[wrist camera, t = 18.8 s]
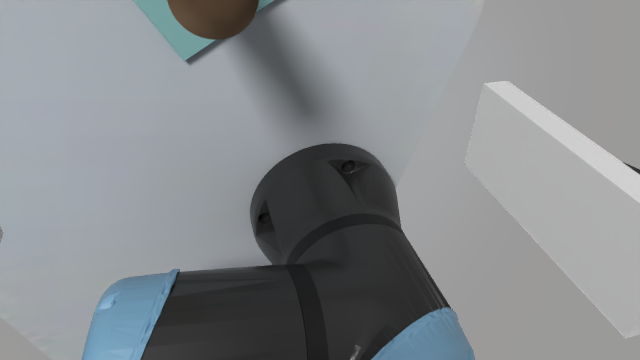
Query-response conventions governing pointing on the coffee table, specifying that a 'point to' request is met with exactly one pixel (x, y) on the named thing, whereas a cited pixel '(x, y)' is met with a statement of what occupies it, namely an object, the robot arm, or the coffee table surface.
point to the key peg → (214, 16)
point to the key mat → (177, 27)
